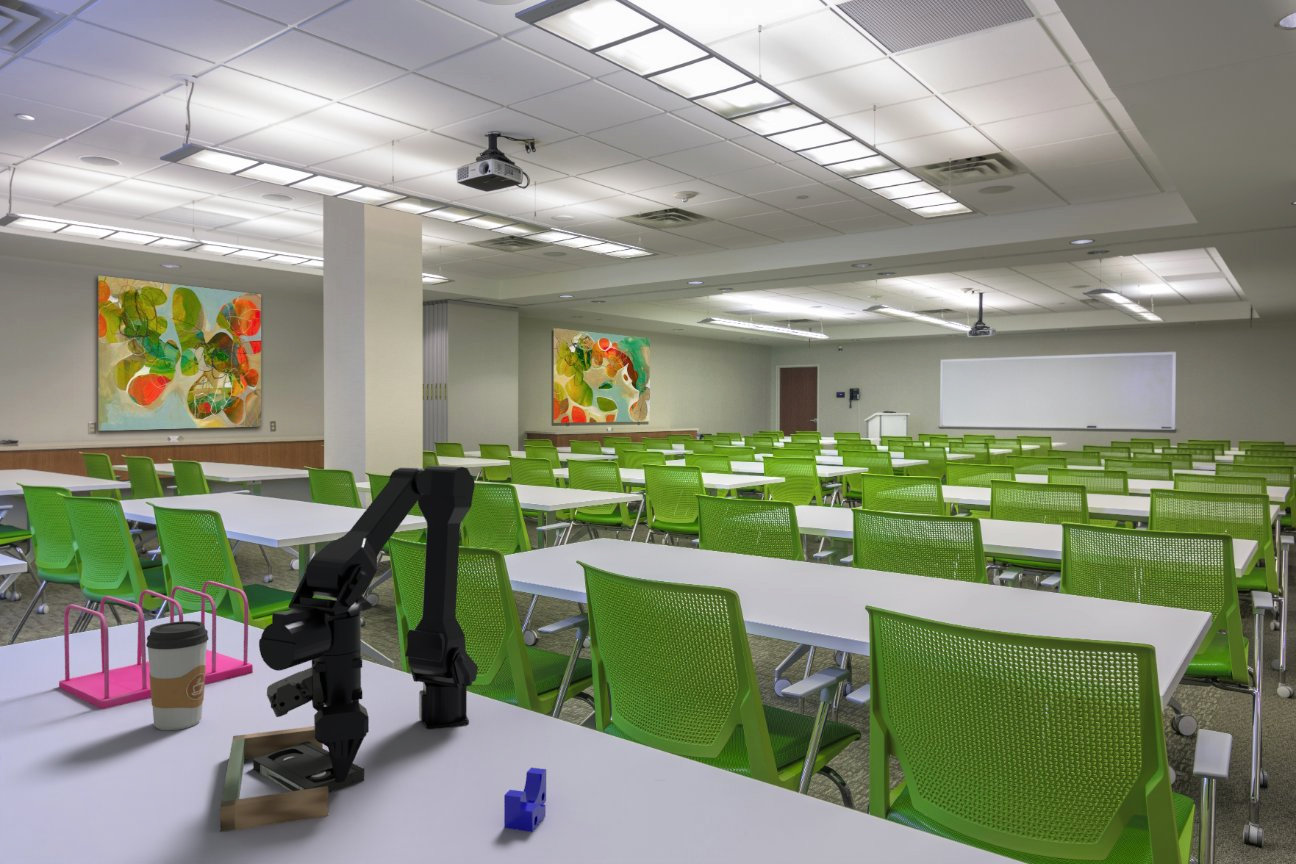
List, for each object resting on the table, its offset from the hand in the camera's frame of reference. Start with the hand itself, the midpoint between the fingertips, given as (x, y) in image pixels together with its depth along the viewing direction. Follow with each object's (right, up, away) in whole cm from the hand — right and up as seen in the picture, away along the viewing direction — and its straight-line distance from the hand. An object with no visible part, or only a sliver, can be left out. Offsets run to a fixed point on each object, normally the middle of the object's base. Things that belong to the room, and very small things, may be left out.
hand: (338, 768), depth 113 cm
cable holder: (+27, -2, -10) cm, 29 cm away
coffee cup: (-31, -1, +18) cm, 35 cm away
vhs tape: (-4, -2, 0) cm, 4 cm away
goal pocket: (-6, -1, -2) cm, 7 cm away
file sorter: (-45, 0, +39) cm, 60 cm away
